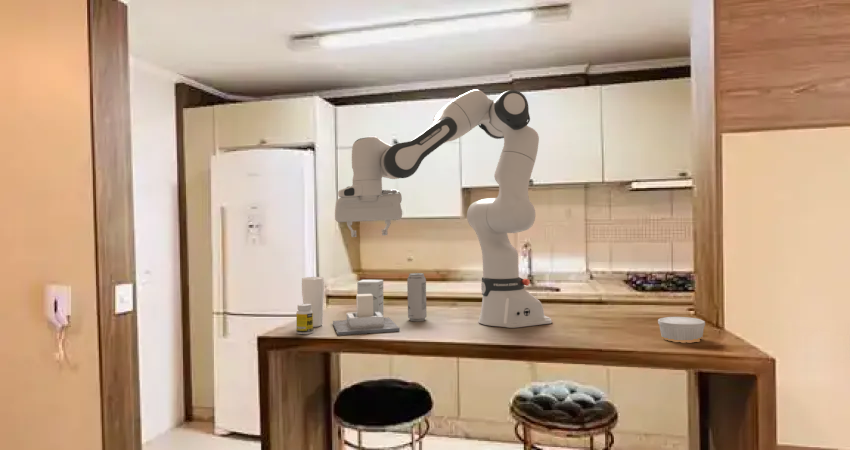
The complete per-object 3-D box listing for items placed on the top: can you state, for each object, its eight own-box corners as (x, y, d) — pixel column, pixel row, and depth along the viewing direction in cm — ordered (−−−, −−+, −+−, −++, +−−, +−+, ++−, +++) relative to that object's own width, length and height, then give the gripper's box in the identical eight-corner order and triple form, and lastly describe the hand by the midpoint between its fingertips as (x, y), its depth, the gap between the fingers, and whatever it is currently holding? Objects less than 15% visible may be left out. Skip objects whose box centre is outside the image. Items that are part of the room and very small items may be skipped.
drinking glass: (314, 323, 181) (313, 276, 181) (329, 325, 177) (328, 277, 177) (298, 326, 176) (297, 278, 175) (313, 328, 172) (312, 279, 171)
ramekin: (649, 338, 152) (648, 318, 152) (679, 334, 156) (679, 315, 156) (683, 346, 141) (682, 325, 141) (714, 342, 146) (714, 321, 146)
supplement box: (357, 320, 185) (356, 281, 184) (363, 316, 192) (362, 279, 192) (379, 320, 183) (378, 281, 183) (384, 316, 191) (383, 279, 190)
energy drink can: (410, 318, 187) (409, 272, 186) (428, 318, 186) (427, 272, 185) (406, 321, 181) (405, 274, 181) (424, 321, 180) (423, 274, 179)
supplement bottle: (309, 334, 163) (308, 305, 163) (293, 334, 164) (293, 305, 164) (315, 331, 168) (315, 303, 168) (300, 331, 169) (300, 303, 169)
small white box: (371, 322, 175) (370, 293, 175) (373, 325, 170) (372, 295, 170) (356, 323, 174) (356, 294, 174) (358, 326, 169) (358, 296, 169)
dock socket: (388, 320, 183) (388, 308, 183) (399, 331, 166) (399, 317, 165) (332, 324, 179) (332, 311, 179) (337, 335, 161) (337, 321, 161)
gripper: (399, 189, 176) (400, 234, 177) (333, 191, 172) (335, 237, 172) (403, 189, 170) (405, 234, 171) (334, 191, 165) (336, 238, 166)
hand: (369, 236), depth 171 cm, fingers open, 8 cm apart
